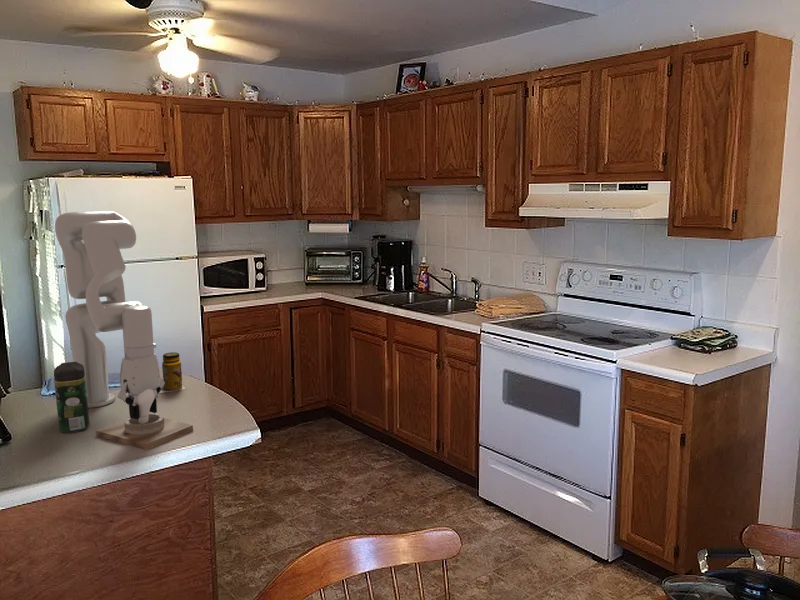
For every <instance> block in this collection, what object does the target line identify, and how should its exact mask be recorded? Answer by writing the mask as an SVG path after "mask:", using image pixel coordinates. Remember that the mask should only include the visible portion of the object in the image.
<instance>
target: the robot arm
mask: <svg viewBox="0 0 800 600" xmlns="http://www.w3.org/2000/svg"><path fill="white" fill-rule="evenodd" d="M54 231H55V232H54V233H55V236H56V239H57V241H58V243H59V246H60V248H61V251H62V254H63V259H64V266H65V267H64V268H65V275H66V276H65V277H66V284H67V290H68V291H67V292H68V294H69V295H70V297H71V298H73V299H76V300H85V302H84V303H79V304H75V305H73V306H70V307H69V308H68V309H67V310H66V312H65V323H66V327H67V331H68V335H69V338H70V345H71V356H72V362H77V363H80V364H82V365H83V366H84V371H85V380H86V391H87V402H88V409H91V408H100V407H103V406H107V405H110V404H111V403H113V402H114V401H115V399H116V396H115V395H114V394H113V393H110V389H109V376H108V375H109V373H108V363H107V351H106V350H107V349H106V345H105V344H104V342H103V341H102V340H101V339H100V338H99V337H98V336H97V334H98V333H99V334H101V333H109V332H115V331H116V332H117V331H121V330H122V336H123V349H124V353H123V354H124V357H123V358H122V359H121V363H120V374H119V377H120V379H119V382H120V383H119V386H120V387H119V388H120V390H119V392H118V394H117V398H118V399H120V400H121V401H123V402H124V403H125V404H127V405H128V411H129V412H128V413H129V417H130V418H133V419H137V420H138V419H139V418H140V415H139V405H137V400H138V394H140V393H143V392H144V391H145V390H147V389H151V390H153V391H154V394H155V398H154V401H153V403H152V405H151V407H150V411H149V413H158V410H157V409H158V405H157V399H158V398H159V394H160V393H159V392H160V391H161V388H162V387H163V386H164V384H165V382H164V381H163V378H161V373H160V367H159V361H158V357H157V355H156V354H157V353H155V348H157V344H156V343H154V331H153V328H154V327H153V313H152V310H151V308H150V307H149V306H148V305H144V304H143V303H142V302H140V301H138V300H131V301H126V293H125V286H124V285H125V284H124V283H125V282H124V279H123V274H124V273H125V271H126V267H127V266H126V264H125V261H124V259H123V256H122V253H121V250H122V249H123V250H124V249H125V250H127V249H131V248H133V247H134V246H135V245H136V242H137V234H136V230H135V228H134V226H133V224H132V223H131V222H130V221H129V220H128V219H127V218H125V217H124V216H122V215H121V214H119V213H117V212H115V211H113V210H112V211H111V210H100V211H99V210H95V211H91V210H90V211H86V210H85V211H69V212H65V213H61V214H60V215H58V216H57V217H56V219H55V221H54ZM104 297H105V298H106V300H102V301H101V299H100V298H104ZM132 396H133V400H132Z"/></svg>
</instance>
